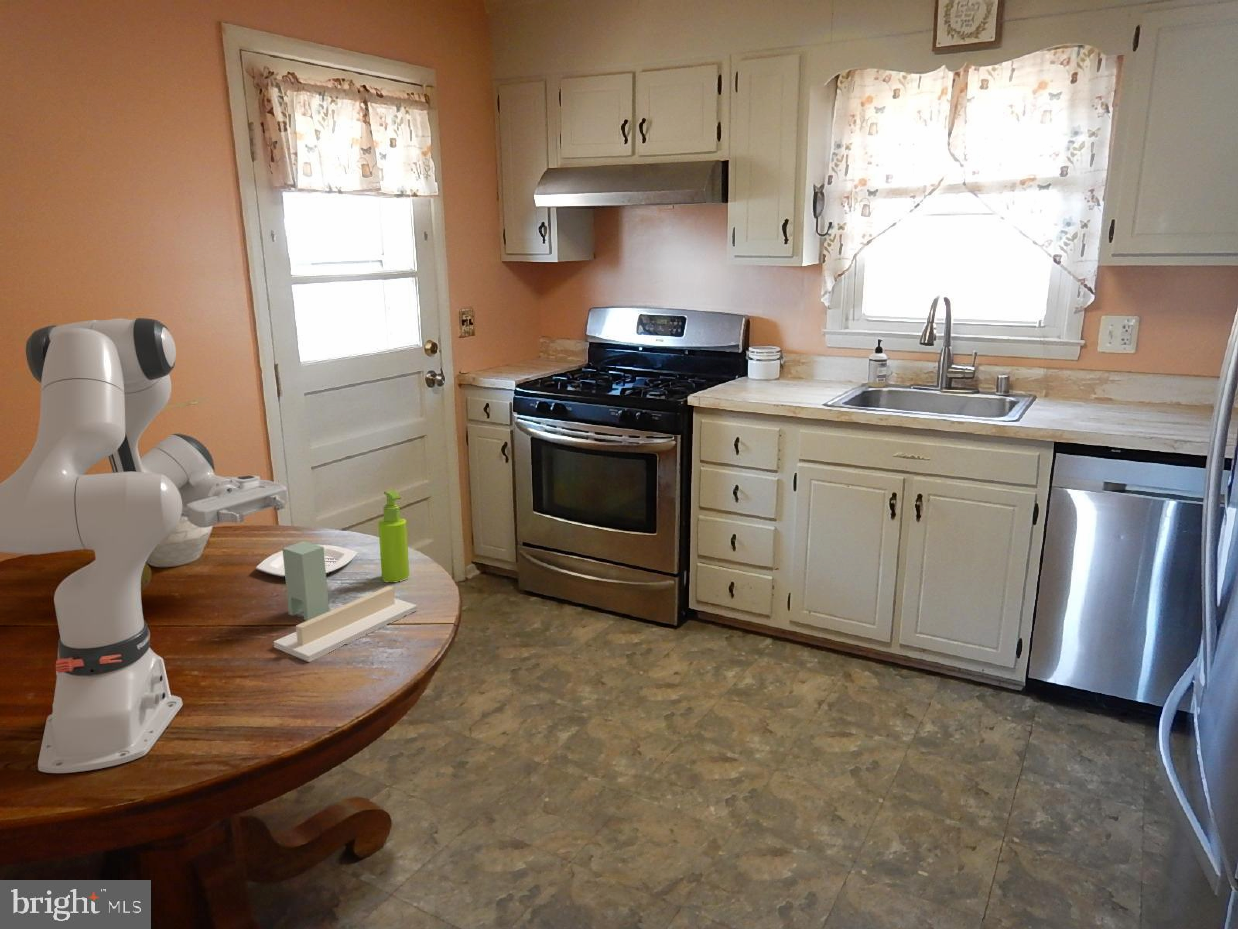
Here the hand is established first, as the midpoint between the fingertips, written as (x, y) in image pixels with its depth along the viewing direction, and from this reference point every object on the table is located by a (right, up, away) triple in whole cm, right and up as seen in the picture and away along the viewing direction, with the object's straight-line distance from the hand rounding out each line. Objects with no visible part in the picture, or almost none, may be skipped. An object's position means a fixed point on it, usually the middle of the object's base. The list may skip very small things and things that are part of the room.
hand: (261, 512), depth 173 cm
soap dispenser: (+23, -16, +16) cm, 32 cm away
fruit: (-30, -19, +3) cm, 36 cm away
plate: (+1, -14, +23) cm, 27 cm away
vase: (-31, -13, +26) cm, 43 cm away
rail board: (+20, -22, -8) cm, 31 cm away
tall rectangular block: (+10, -20, -2) cm, 23 cm away
